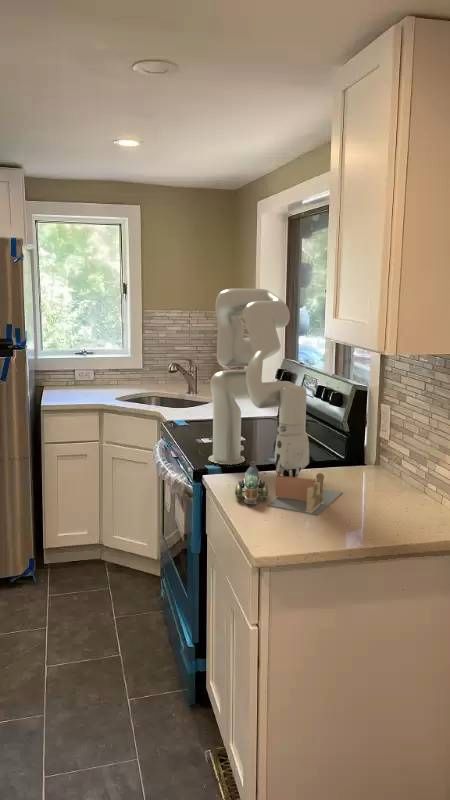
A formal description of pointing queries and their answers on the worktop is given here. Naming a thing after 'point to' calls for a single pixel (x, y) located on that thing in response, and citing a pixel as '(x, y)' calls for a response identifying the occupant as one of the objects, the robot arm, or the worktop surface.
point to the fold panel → (292, 487)
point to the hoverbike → (251, 486)
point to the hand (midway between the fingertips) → (290, 489)
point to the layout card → (305, 503)
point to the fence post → (315, 492)
